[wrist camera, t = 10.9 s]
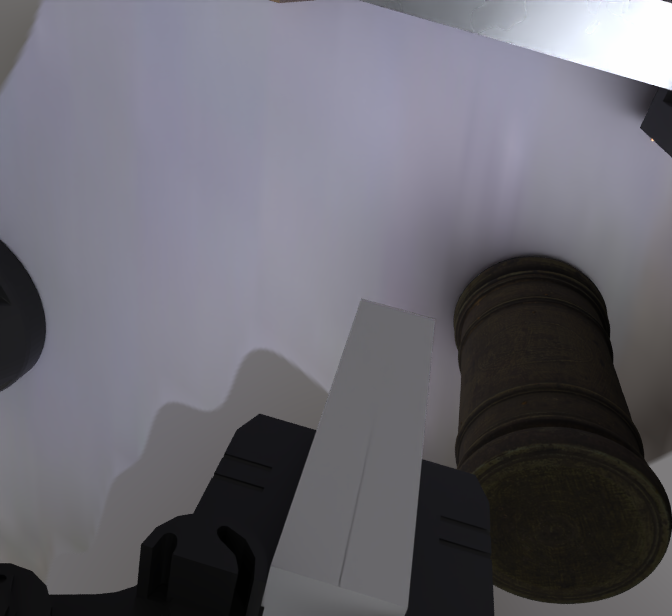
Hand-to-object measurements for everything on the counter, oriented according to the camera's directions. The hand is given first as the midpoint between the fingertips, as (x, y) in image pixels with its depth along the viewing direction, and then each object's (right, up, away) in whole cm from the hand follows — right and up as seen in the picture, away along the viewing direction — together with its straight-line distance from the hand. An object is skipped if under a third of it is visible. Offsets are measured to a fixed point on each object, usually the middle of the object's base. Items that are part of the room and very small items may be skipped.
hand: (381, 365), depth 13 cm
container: (+11, +1, +27) cm, 30 cm away
